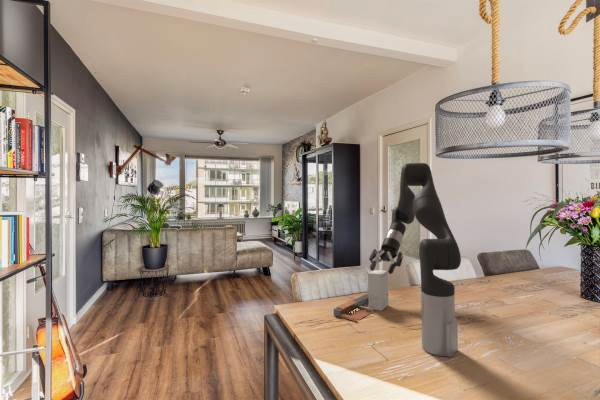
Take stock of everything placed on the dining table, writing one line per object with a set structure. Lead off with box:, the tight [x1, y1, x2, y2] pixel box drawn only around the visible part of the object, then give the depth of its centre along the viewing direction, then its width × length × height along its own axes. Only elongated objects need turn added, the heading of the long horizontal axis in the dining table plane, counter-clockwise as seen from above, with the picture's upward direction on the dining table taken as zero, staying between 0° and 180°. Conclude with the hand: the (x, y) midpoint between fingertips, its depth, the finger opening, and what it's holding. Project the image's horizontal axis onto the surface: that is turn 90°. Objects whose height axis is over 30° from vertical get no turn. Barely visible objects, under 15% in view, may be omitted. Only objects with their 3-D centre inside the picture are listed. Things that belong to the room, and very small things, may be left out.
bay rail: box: [333, 293, 374, 323], centre depth 128 cm, size 25×10×3 cm, turn 137°
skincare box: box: [367, 269, 389, 312], centre depth 131 cm, size 8×6×15 cm
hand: (380, 271), depth 135 cm, fingers open, 8 cm apart
